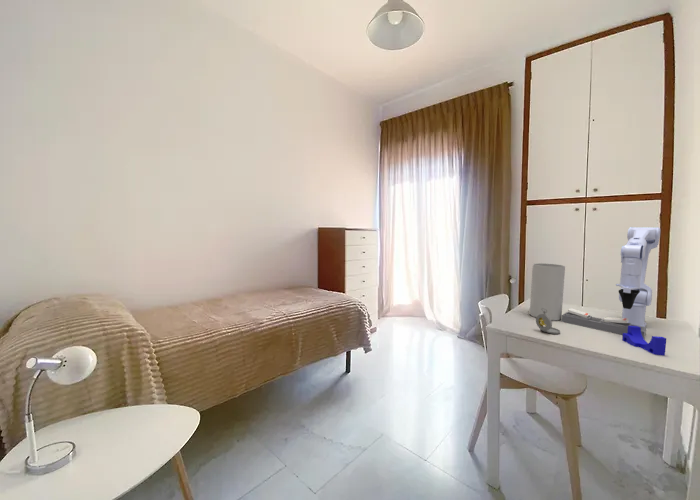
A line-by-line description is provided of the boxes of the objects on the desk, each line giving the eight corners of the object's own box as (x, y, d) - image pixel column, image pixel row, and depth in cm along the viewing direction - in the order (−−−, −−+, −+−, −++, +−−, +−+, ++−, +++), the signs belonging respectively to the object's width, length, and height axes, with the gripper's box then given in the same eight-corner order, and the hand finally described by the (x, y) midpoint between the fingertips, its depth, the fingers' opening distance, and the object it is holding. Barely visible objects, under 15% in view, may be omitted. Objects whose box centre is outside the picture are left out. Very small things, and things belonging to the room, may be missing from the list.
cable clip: (622, 340, 107) (623, 325, 107) (635, 341, 106) (637, 326, 106) (648, 354, 96) (650, 337, 95) (664, 355, 95) (666, 338, 94)
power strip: (566, 318, 133) (567, 310, 133) (645, 334, 113) (646, 325, 113) (561, 321, 128) (562, 313, 128) (643, 339, 108) (644, 330, 108)
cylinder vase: (523, 314, 138) (526, 264, 136) (539, 311, 143) (542, 262, 141) (551, 322, 126) (554, 267, 124) (567, 319, 132) (571, 266, 130)
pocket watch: (561, 331, 116) (562, 307, 115) (558, 337, 110) (560, 312, 109) (537, 326, 121) (539, 303, 120) (533, 331, 115) (535, 308, 114)
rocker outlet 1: (569, 310, 131) (570, 307, 130) (588, 317, 125) (589, 313, 125) (567, 312, 128) (568, 309, 127) (586, 319, 123) (587, 315, 122)
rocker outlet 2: (606, 320, 121) (605, 316, 121) (628, 322, 116) (628, 318, 116) (604, 322, 118) (603, 318, 118) (627, 324, 113) (626, 320, 113)
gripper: (619, 271, 121) (617, 302, 122) (614, 275, 111) (611, 308, 113) (643, 273, 115) (640, 306, 116) (639, 277, 106) (636, 313, 107)
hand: (627, 307), depth 114 cm, fingers open, 3 cm apart
